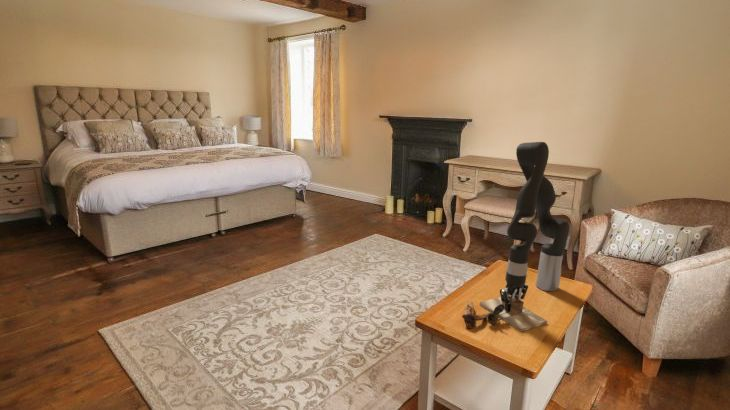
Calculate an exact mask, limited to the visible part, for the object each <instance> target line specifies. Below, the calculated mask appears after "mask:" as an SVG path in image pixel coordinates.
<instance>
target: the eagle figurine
mask: <svg viewBox="0 0 730 410" xmlns="http://www.w3.org/2000/svg"><path fill="white" fill-rule="evenodd" d="M503 310H504V306H503V304H500V305H498V306H497V307H495V309H494V312H493V313H491V312H490V311H489V312H487V313H486V314H485V317H486V318H490V320H489V322H491V326H492V327H493V326H494V325H495V324H496V323H497V322H498V323H501V321H503V320H502V319H503V318H499V317H498V314H500V313H501V312H503Z"/></svg>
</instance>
